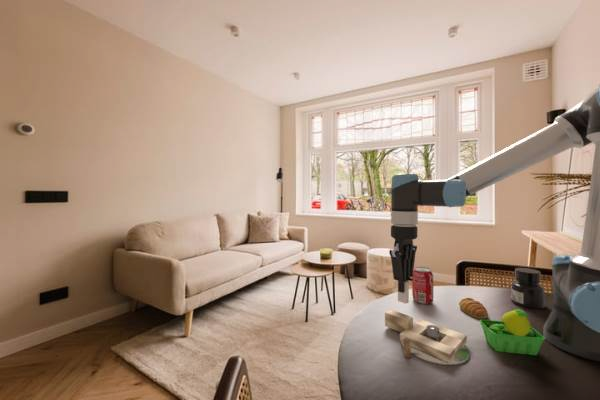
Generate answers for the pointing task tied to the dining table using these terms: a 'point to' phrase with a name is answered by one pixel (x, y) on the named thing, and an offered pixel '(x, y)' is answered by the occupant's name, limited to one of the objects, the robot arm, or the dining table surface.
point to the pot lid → (457, 360)
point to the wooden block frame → (418, 331)
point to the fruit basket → (513, 334)
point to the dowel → (407, 347)
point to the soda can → (422, 285)
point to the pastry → (473, 308)
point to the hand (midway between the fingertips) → (403, 301)
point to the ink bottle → (527, 289)
